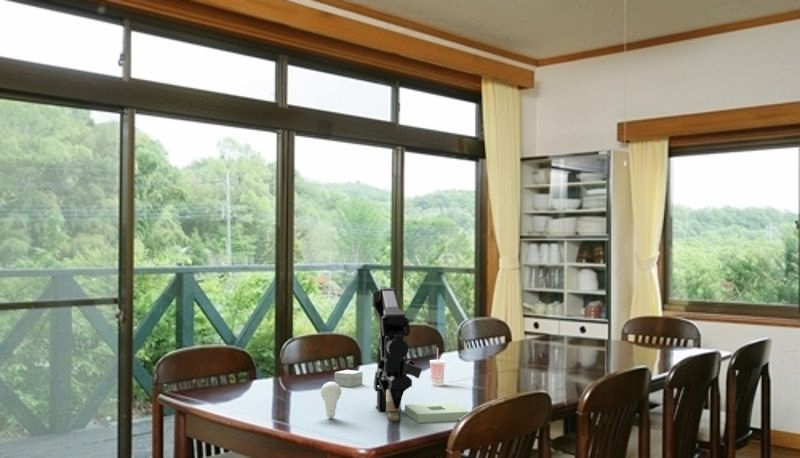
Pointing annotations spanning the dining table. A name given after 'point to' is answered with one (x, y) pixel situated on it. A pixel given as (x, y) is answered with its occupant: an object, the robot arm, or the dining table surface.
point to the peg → (391, 408)
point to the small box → (348, 378)
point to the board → (435, 412)
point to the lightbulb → (330, 397)
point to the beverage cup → (437, 371)
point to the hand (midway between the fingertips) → (393, 406)
